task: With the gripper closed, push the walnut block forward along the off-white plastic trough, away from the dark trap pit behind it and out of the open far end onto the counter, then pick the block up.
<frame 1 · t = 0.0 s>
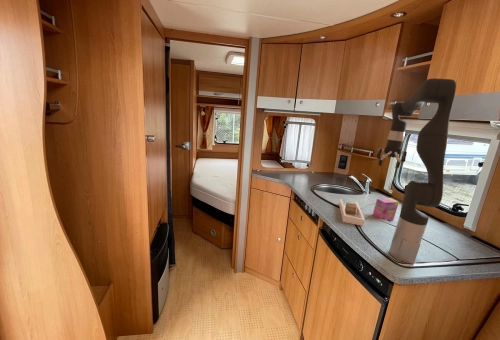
hand: (388, 167, 128), 29 cm above the countertop, tool pointing down, fingers open, 8 cm apart
block: (349, 212, 129), point 1 cm above the countertop, touching trough
box: (382, 218, 129), on the countertop
trough: (349, 215, 128), on the countertop
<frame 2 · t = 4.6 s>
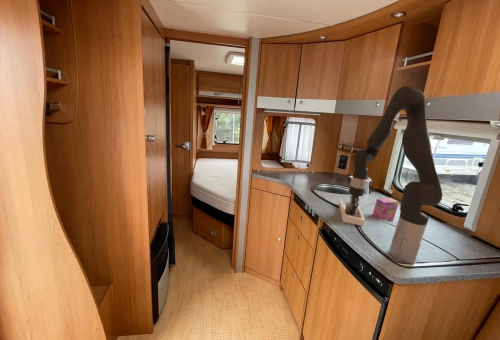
hand: (350, 214, 124), 3 cm above the countertop, tool pointing down, fingers closed
block: (349, 212, 129), point 2 cm above the countertop, touching gripper, trough
everything else where it was.
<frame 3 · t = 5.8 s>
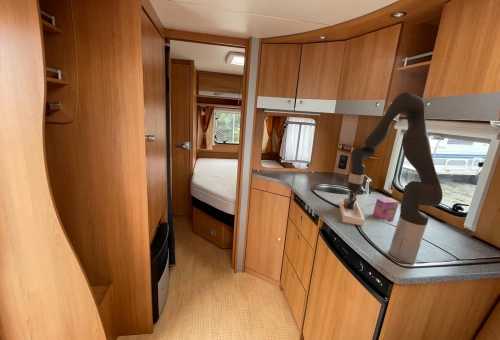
hand: (349, 208, 131), 3 cm above the countertop, tool pointing down, fingers closed
block: (347, 207, 136), point 2 cm above the countertop, touching gripper, trough
everything else where it was.
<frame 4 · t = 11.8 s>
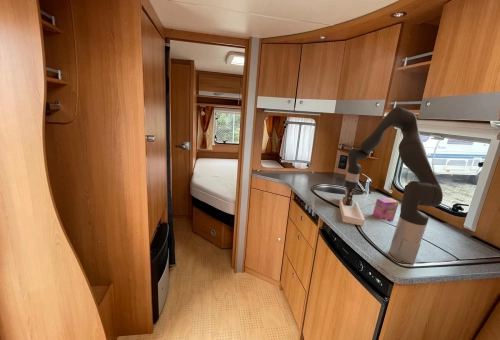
hand: (346, 203, 143), 1 cm above the countertop, tool pointing down, fingers open, 6 cm apart
block: (346, 205, 143), on the countertop, touching gripper
everything else where it was.
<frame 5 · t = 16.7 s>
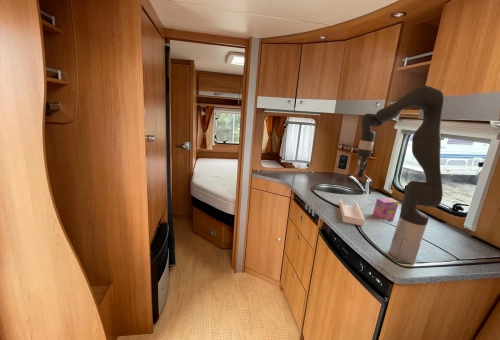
hand: (359, 175, 135), 21 cm above the countertop, tool pointing down, fingers closed on block, 5 cm apart
block: (359, 176, 135), point 21 cm above the countertop, touching gripper
everything else where it was.
at the end: the gripper is holding block; block inside the target area (1.6 cm from its centre), point 20.8 cm above the countertop; block point 20.8 cm above the countertop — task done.
